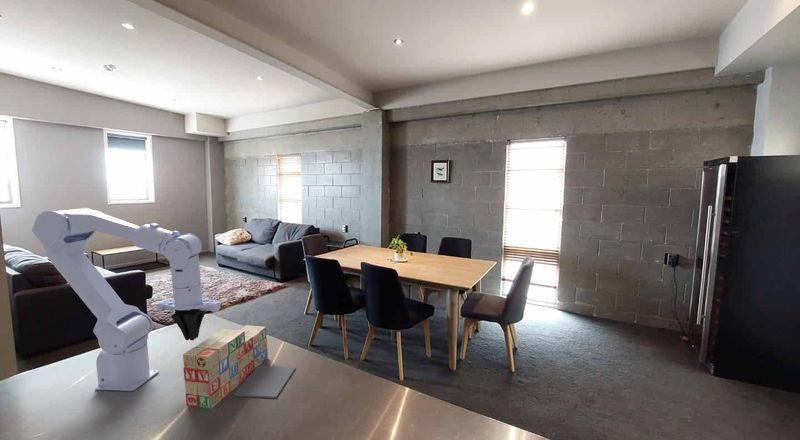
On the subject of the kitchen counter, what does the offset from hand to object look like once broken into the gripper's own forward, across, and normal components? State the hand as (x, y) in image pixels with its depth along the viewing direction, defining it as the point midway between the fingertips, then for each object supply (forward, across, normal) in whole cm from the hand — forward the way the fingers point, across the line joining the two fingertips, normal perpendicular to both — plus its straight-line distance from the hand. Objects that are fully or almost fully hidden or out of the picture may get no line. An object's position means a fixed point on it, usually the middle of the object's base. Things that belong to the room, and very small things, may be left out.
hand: (191, 338), depth 80 cm
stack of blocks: (+11, -9, 0) cm, 14 cm away
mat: (+11, -18, 0) cm, 21 cm away
